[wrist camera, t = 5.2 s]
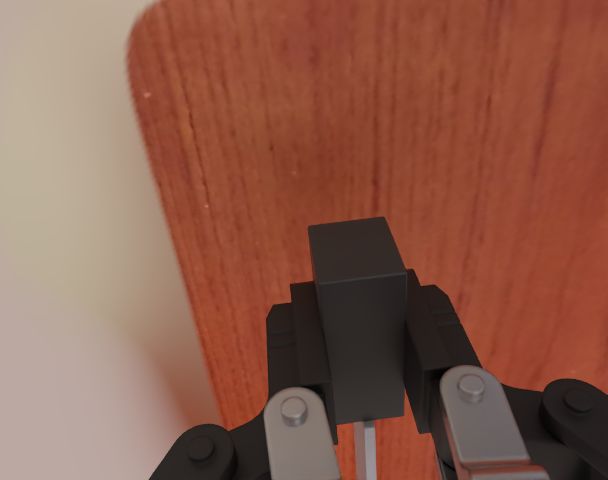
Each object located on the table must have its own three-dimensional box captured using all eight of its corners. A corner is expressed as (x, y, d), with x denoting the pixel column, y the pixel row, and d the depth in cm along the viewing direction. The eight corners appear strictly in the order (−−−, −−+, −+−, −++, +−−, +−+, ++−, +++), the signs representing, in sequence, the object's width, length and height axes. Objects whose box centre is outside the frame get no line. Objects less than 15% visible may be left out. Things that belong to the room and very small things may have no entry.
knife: (307, 224, 13) (318, 289, 11) (384, 215, 13) (410, 278, 11) (338, 513, 21) (348, 583, 19) (387, 506, 21) (402, 576, 19)
